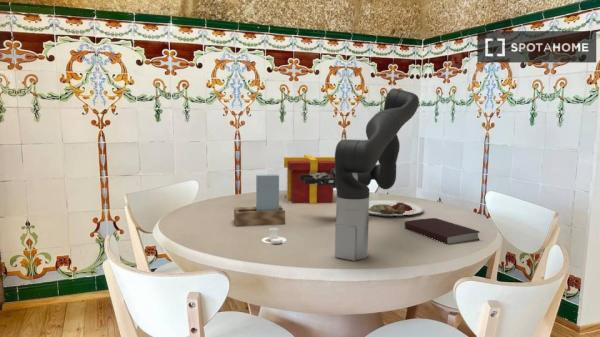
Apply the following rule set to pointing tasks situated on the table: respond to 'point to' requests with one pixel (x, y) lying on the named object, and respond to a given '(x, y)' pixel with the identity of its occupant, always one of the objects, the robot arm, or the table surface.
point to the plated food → (392, 208)
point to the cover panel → (267, 192)
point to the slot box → (258, 216)
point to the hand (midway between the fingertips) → (302, 179)
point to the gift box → (298, 188)
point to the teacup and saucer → (274, 237)
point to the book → (442, 230)
